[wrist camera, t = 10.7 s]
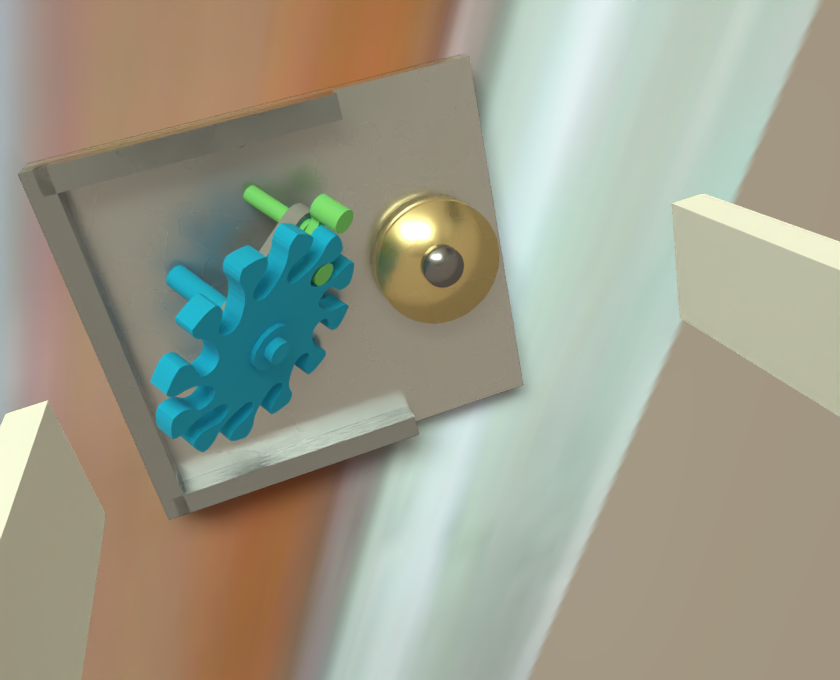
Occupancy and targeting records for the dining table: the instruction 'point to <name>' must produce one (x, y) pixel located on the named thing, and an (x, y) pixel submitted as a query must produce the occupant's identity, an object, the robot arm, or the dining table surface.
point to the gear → (255, 322)
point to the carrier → (246, 225)
